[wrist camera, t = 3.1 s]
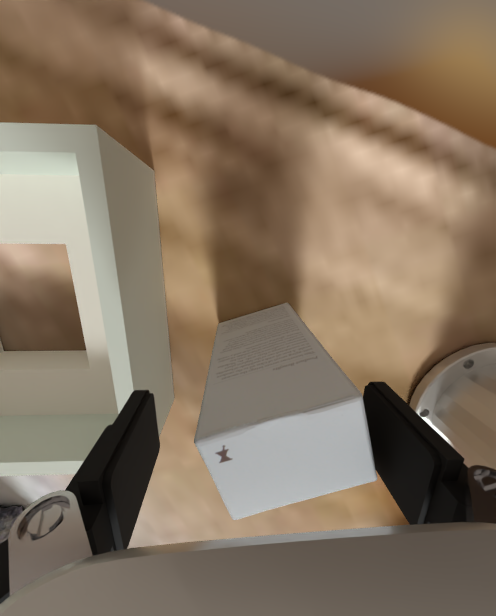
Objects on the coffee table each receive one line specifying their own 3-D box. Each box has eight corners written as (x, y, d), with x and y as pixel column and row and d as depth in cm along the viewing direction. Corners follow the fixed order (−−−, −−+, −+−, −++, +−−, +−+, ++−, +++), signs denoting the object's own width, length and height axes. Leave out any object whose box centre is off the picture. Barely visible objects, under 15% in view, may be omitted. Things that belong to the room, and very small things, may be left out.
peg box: (154, 170, 16) (96, 124, 10) (174, 398, 21) (145, 472, 15) (-127, 165, 16) (-397, 112, 9) (-39, 402, 21) (-172, 480, 14)
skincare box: (233, 367, 21) (227, 525, 9) (217, 322, 20) (187, 440, 8) (302, 346, 21) (382, 485, 9) (289, 300, 19) (364, 390, 8)
